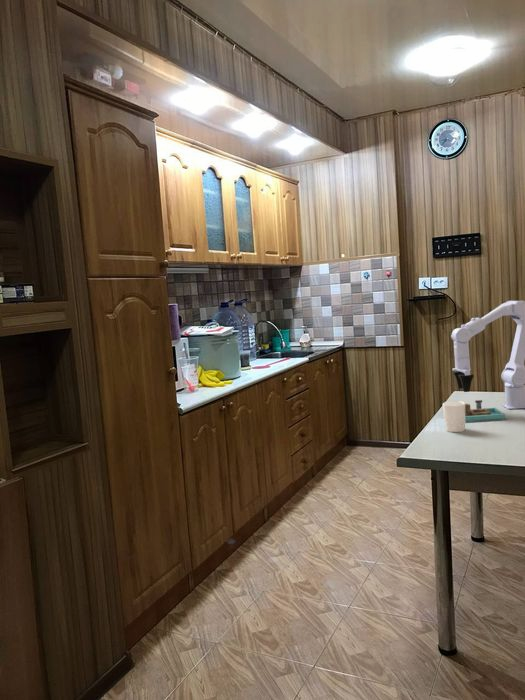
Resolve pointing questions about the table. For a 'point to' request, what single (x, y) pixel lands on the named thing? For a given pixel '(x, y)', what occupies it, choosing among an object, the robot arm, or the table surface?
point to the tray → (487, 416)
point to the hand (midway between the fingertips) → (464, 389)
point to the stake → (478, 404)
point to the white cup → (454, 416)
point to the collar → (475, 411)
